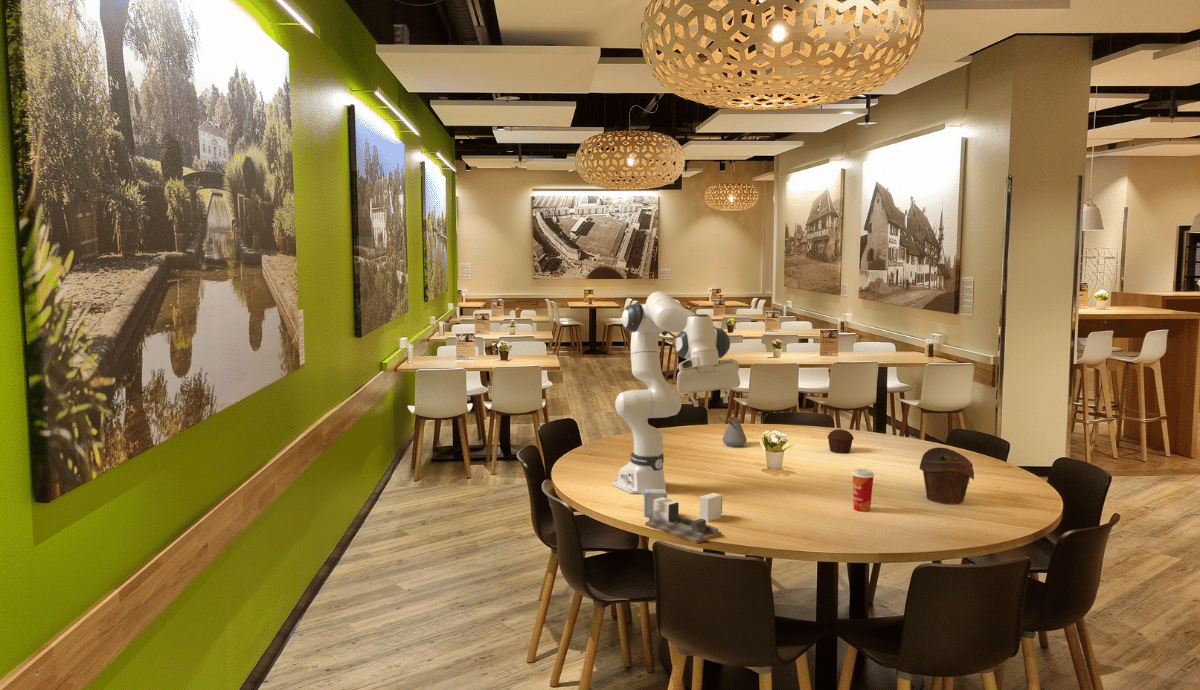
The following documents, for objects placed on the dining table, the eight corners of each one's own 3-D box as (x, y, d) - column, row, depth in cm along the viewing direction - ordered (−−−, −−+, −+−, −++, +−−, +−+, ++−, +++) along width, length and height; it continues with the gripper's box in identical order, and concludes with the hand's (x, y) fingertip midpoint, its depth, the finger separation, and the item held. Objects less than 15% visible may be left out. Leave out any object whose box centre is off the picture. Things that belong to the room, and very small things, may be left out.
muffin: (823, 452, 373) (824, 430, 372) (831, 447, 382) (832, 426, 381) (849, 455, 366) (849, 433, 365) (856, 450, 375) (857, 429, 374)
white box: (699, 519, 279) (700, 496, 278) (714, 514, 284) (714, 492, 283) (707, 521, 276) (708, 499, 275) (722, 517, 281) (722, 494, 280)
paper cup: (847, 505, 293) (849, 468, 292) (869, 506, 293) (870, 468, 291) (853, 512, 286) (855, 474, 284) (876, 513, 285) (877, 474, 284)
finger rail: (645, 525, 273) (645, 502, 272) (670, 517, 280) (670, 495, 279) (696, 543, 255) (696, 518, 254) (721, 534, 263) (721, 511, 262)
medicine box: (665, 512, 286) (665, 489, 285) (667, 517, 281) (667, 492, 280) (643, 513, 285) (643, 489, 284) (644, 517, 281) (644, 492, 280)
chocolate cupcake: (954, 510, 288) (957, 461, 286) (906, 496, 304) (909, 449, 303) (984, 503, 297) (987, 455, 295) (936, 490, 314) (939, 444, 312)
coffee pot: (724, 441, 393) (725, 411, 391) (748, 443, 389) (749, 412, 387) (716, 452, 373) (716, 419, 371) (741, 454, 369) (741, 421, 367)
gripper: (737, 359, 264) (743, 401, 261) (674, 368, 267) (680, 409, 264) (737, 356, 258) (744, 399, 255) (673, 364, 260) (679, 407, 258)
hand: (711, 404), depth 259 cm, fingers open, 8 cm apart
